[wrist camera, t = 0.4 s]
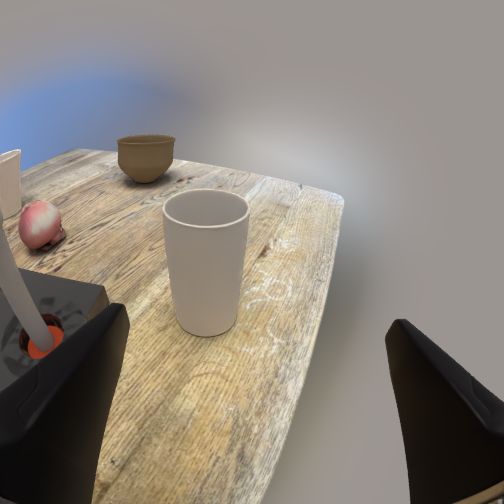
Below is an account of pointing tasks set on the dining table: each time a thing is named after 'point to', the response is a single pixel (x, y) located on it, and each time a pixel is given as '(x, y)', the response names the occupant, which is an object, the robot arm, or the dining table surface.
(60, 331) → the stopper
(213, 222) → the mug
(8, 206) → the cup
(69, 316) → the sink board
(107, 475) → the dining table surface
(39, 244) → the onion
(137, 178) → the bowl
